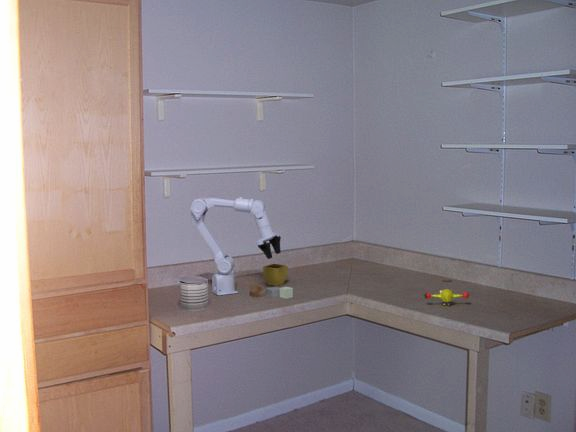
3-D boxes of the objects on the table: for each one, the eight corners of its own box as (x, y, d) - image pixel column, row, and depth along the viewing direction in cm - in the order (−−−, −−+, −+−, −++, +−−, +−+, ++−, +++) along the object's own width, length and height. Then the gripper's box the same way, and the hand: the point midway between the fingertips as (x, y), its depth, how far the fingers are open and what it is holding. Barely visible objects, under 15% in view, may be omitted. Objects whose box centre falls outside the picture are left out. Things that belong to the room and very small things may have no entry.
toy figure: (466, 303, 258) (467, 287, 257) (470, 307, 253) (470, 290, 252) (422, 304, 258) (422, 287, 257) (425, 307, 253) (425, 290, 252)
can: (194, 302, 263) (193, 274, 262) (214, 306, 257) (213, 277, 256) (174, 308, 254) (173, 279, 253) (195, 312, 248) (194, 282, 246)
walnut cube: (253, 297, 271) (253, 287, 270) (249, 295, 275) (249, 285, 274) (263, 296, 273) (263, 286, 272) (258, 294, 277) (258, 284, 276)
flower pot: (277, 287, 289) (276, 268, 288) (262, 285, 294) (262, 266, 293) (288, 284, 296) (288, 265, 295) (274, 282, 301) (273, 263, 300)
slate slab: (271, 297, 272) (271, 290, 272) (265, 294, 277) (265, 288, 277) (284, 296, 275) (284, 289, 274) (277, 293, 280) (277, 286, 280)
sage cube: (286, 298, 269) (286, 289, 269) (279, 297, 272) (279, 288, 271) (292, 297, 272) (292, 288, 271) (286, 295, 275) (286, 286, 274)
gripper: (263, 228, 267) (273, 258, 268) (279, 220, 279) (289, 249, 280) (250, 232, 271) (260, 262, 272) (266, 224, 283) (276, 252, 284)
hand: (274, 255), depth 276 cm, fingers open, 7 cm apart
